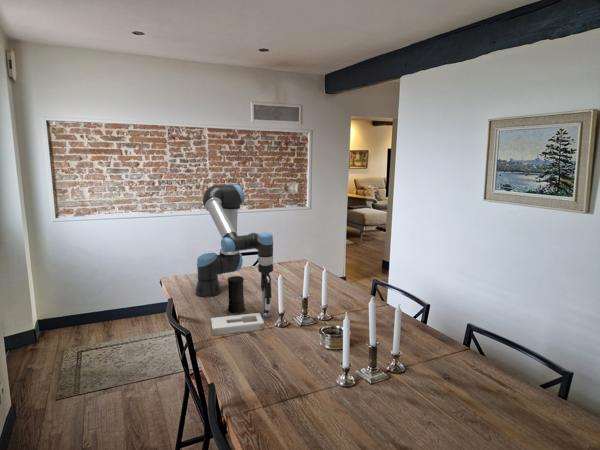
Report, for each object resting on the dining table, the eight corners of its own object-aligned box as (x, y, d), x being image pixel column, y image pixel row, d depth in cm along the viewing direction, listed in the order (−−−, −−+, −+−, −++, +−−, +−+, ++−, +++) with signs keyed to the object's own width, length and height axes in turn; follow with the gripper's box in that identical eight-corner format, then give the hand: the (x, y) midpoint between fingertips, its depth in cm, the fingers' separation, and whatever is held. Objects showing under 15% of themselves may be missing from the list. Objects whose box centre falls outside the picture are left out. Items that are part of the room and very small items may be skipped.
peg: (260, 314, 205) (260, 287, 202) (270, 313, 206) (269, 286, 203) (262, 318, 200) (261, 290, 197) (272, 317, 201) (272, 289, 199)
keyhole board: (211, 324, 193) (211, 318, 192) (259, 319, 199) (259, 312, 199) (212, 335, 181) (212, 328, 181) (264, 329, 188) (263, 322, 187)
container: (246, 307, 214) (246, 275, 210) (242, 314, 205) (241, 281, 202) (230, 306, 215) (229, 275, 211) (225, 313, 206) (224, 280, 202)
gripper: (254, 258, 207) (255, 299, 211) (262, 270, 187) (262, 315, 191) (268, 257, 209) (269, 298, 213) (277, 269, 189) (277, 313, 193)
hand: (266, 306), depth 202 cm, fingers open, 8 cm apart
